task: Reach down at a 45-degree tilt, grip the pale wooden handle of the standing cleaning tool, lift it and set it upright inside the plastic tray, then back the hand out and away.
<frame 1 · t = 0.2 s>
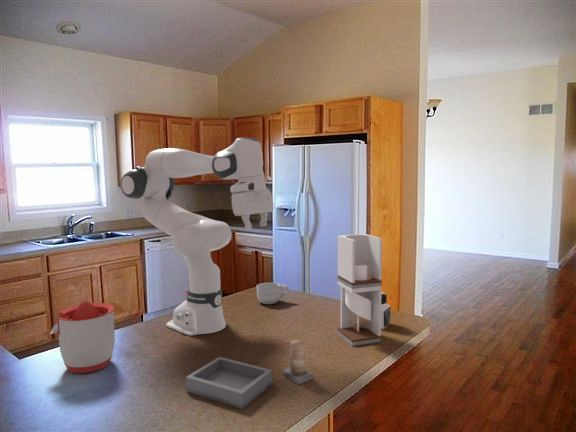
hand: (256, 227, 145), 39 cm above the counter, tool pointing down, fingers open, 8 cm apart
white miniature tower model: (358, 338, 150), on the counter
tray: (230, 387, 117), on the counter
citrus juicer: (86, 366, 131), on the counter
teacup: (272, 302, 191), on the counter
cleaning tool: (297, 377, 122), on the counter
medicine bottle: (377, 325, 162), on the counter
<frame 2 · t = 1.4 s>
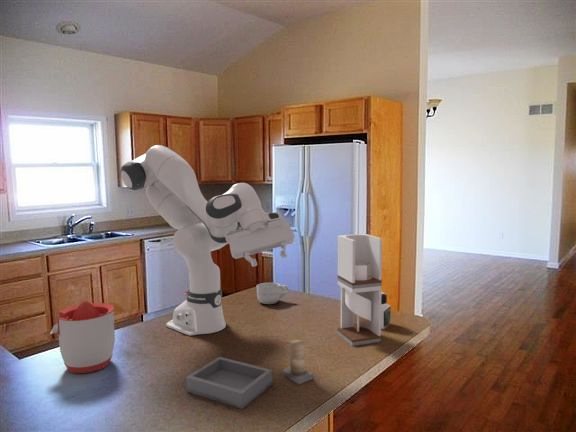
hand: (269, 261, 131), 30 cm above the counter, tool tilted 45°, fingers open, 8 cm apart
nothing on the counter moved.
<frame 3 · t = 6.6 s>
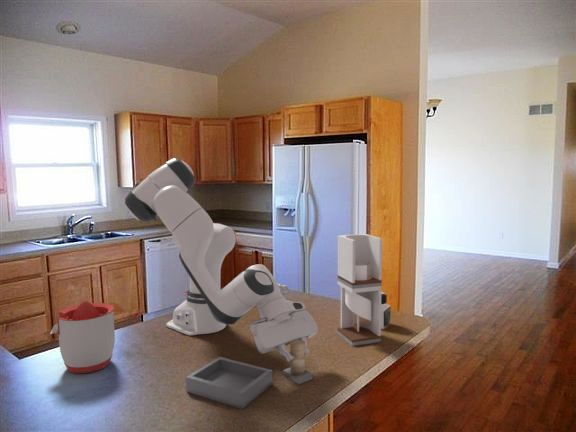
hand: (299, 357, 121), 6 cm above the counter, tool tilted 45°, fingers closed on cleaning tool, 4 cm apart
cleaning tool: (297, 376, 122), on the counter, touching gripper
everything else where it was.
when the fingers open (8 cm above the counter, at t = 12.7 s): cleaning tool drops 2 cm, resting on tray.
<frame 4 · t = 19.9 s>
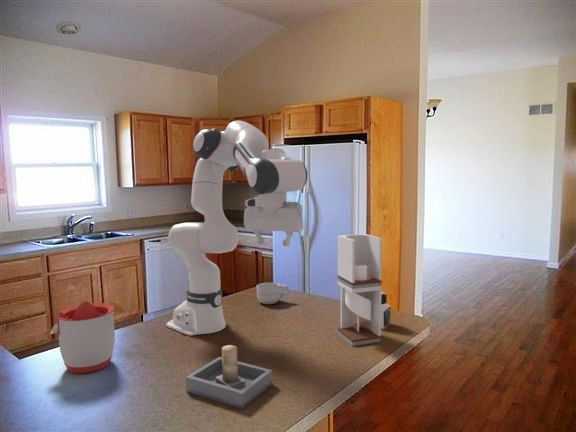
hand: (273, 244, 139), 34 cm above the counter, tool pointing down, fingers open, 8 cm apart
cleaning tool: (230, 384, 117), point 1 cm above the counter, touching tray
everything else where it was.
at the end: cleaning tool inside the target area on the tray (0.1 cm from its centre), point 1.0 cm above the tray's base; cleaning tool tilted 0°; the gripper is holding nothing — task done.
